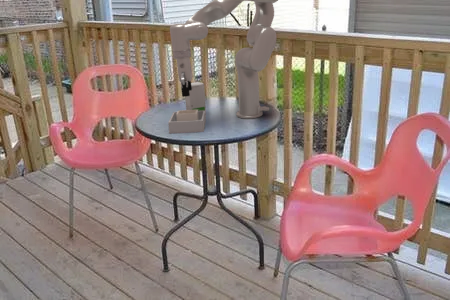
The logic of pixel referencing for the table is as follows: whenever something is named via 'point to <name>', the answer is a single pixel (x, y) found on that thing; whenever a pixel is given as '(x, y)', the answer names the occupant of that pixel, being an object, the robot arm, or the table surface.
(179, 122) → the base crate
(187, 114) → the small crate
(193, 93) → the skincare box
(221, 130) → the table surface
